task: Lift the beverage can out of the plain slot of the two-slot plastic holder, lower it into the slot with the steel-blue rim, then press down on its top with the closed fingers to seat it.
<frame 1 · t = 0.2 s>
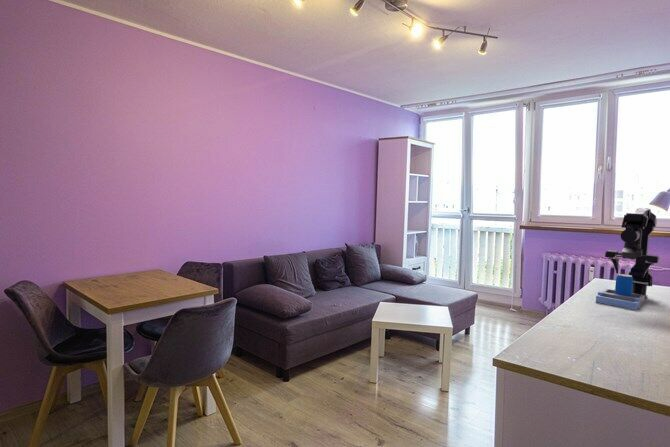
hand: (629, 275, 173), 14 cm above the table, tool pointing down, fingers open, 9 cm apart
beverage can: (622, 300, 185), resting in slot holder
slot holder: (620, 301, 181), on the table
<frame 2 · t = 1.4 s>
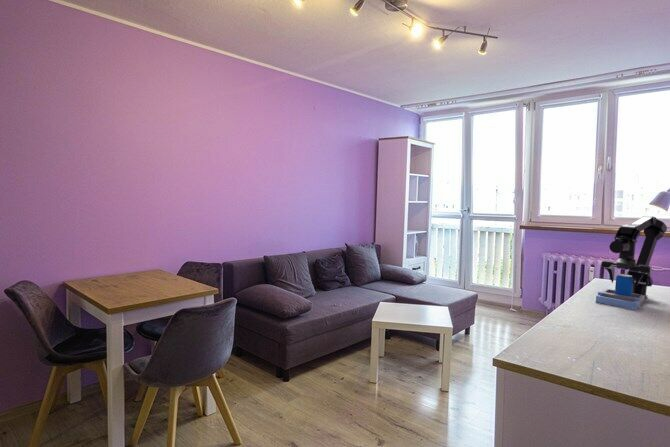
hand: (624, 284, 184), 8 cm above the table, tool pointing down, fingers open, 9 cm apart
nothing on the table moved.
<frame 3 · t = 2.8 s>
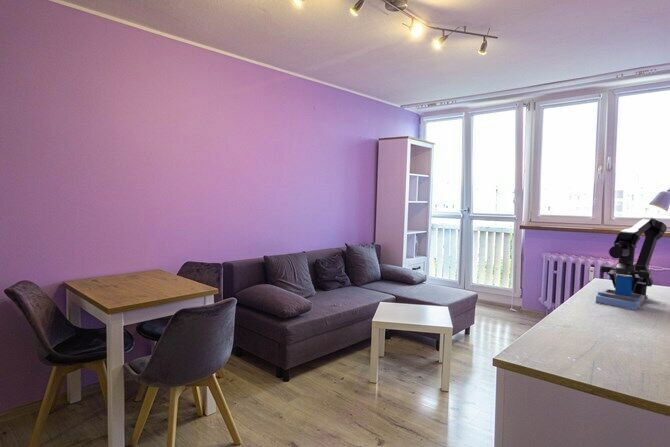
hand: (623, 289, 184), 5 cm above the table, tool pointing down, fingers closed on beverage can, 6 cm apart
beverage can: (622, 300, 185), resting in slot holder, touching gripper
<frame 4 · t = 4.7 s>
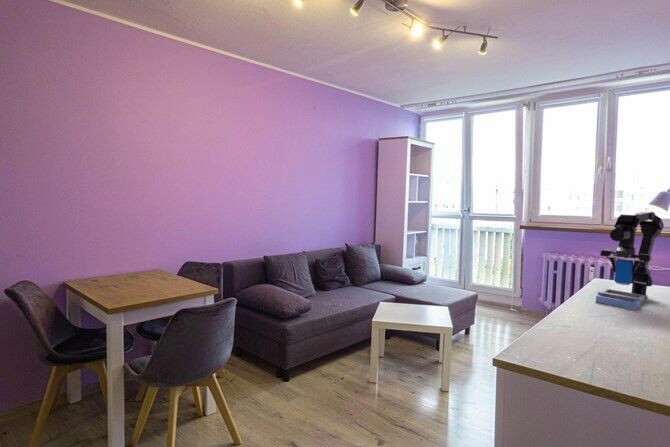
hand: (623, 273, 182), 13 cm above the table, tool pointing down, fingers closed on beverage can, 6 cm apart
beverage can: (622, 284, 182), point 8 cm above the table, touching gripper
when the fingers open (6 cm above the table, at t = 7.1 s): beverage can stays where it is, resting in slot holder.
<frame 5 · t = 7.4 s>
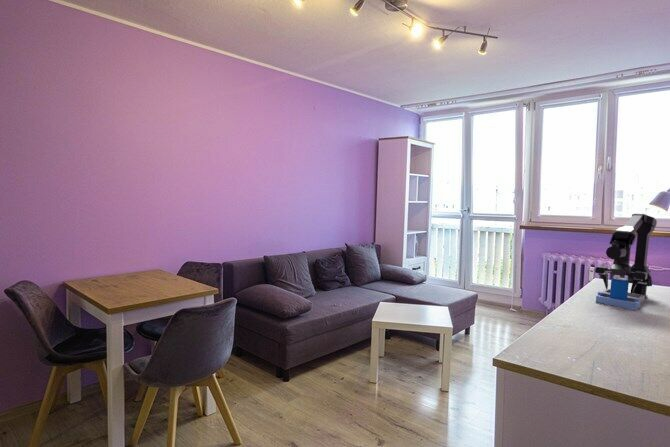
hand: (618, 291, 177), 6 cm above the table, tool pointing down, fingers open, 9 cm apart
beverage can: (617, 304, 177), resting in slot holder
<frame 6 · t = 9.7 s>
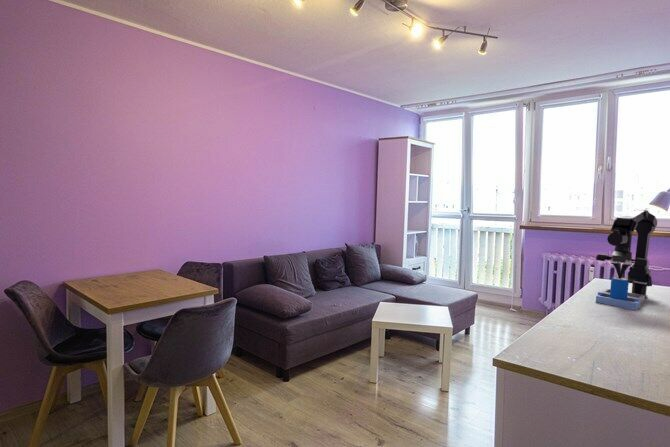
hand: (619, 278, 176), 12 cm above the table, tool pointing down, fingers closed, pressing on beverage can
beverage can: (617, 304, 177), resting in slot holder, touching gripper
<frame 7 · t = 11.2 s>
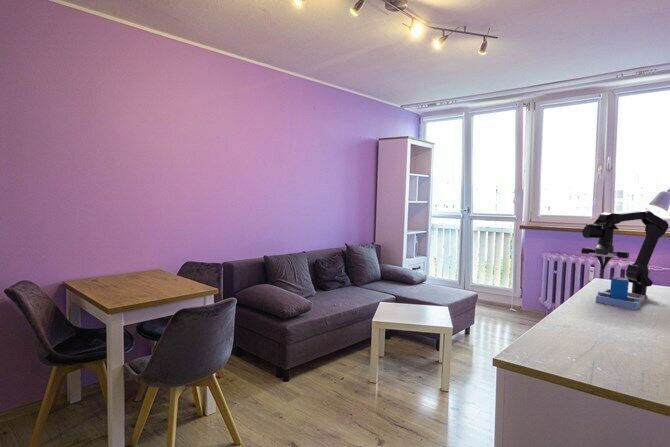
hand: (603, 269, 190), 13 cm above the table, tool pointing down, fingers closed
beverage can: (617, 304, 177), resting in slot holder
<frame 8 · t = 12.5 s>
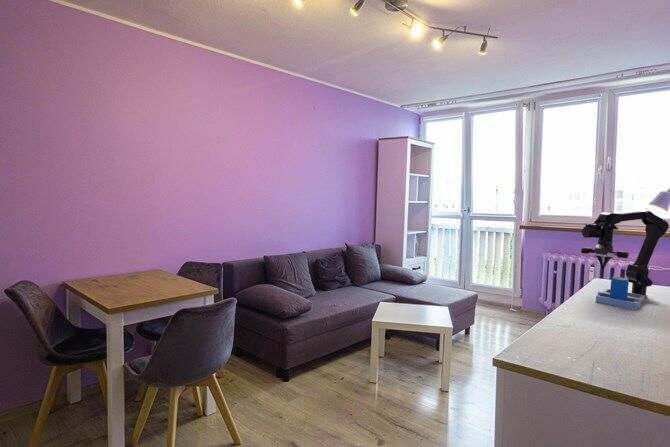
hand: (602, 269, 191), 13 cm above the table, tool pointing down, fingers closed
nothing on the table moved.
at the end: beverage can 0.0 cm from the target spot on the slot holder, point 0.0 cm above the slot holder's base; beverage can tilted 0°; the gripper is holding nothing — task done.
